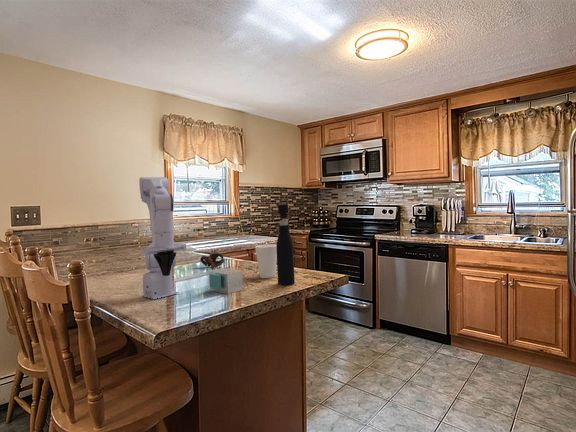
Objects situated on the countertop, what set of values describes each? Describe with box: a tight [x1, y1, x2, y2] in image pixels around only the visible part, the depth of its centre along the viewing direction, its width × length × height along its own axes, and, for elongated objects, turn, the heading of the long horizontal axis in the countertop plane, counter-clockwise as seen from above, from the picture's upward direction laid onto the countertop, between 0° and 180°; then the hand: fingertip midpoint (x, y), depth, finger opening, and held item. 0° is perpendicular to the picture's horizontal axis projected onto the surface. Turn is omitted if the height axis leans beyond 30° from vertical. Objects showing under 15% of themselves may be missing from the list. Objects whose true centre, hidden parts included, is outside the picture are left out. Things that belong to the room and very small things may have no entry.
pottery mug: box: [200, 252, 225, 270], centre depth 171 cm, size 12×10×8 cm
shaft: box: [209, 274, 222, 290], centre depth 124 cm, size 9×5×5 cm, turn 141°
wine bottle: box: [275, 204, 295, 287], centre depth 131 cm, size 6×6×30 cm
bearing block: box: [208, 267, 244, 295], centre depth 125 cm, size 7×10×7 cm
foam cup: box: [254, 243, 277, 279], centre depth 145 cm, size 10×9×13 cm
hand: (166, 275), depth 109 cm, fingers closed
